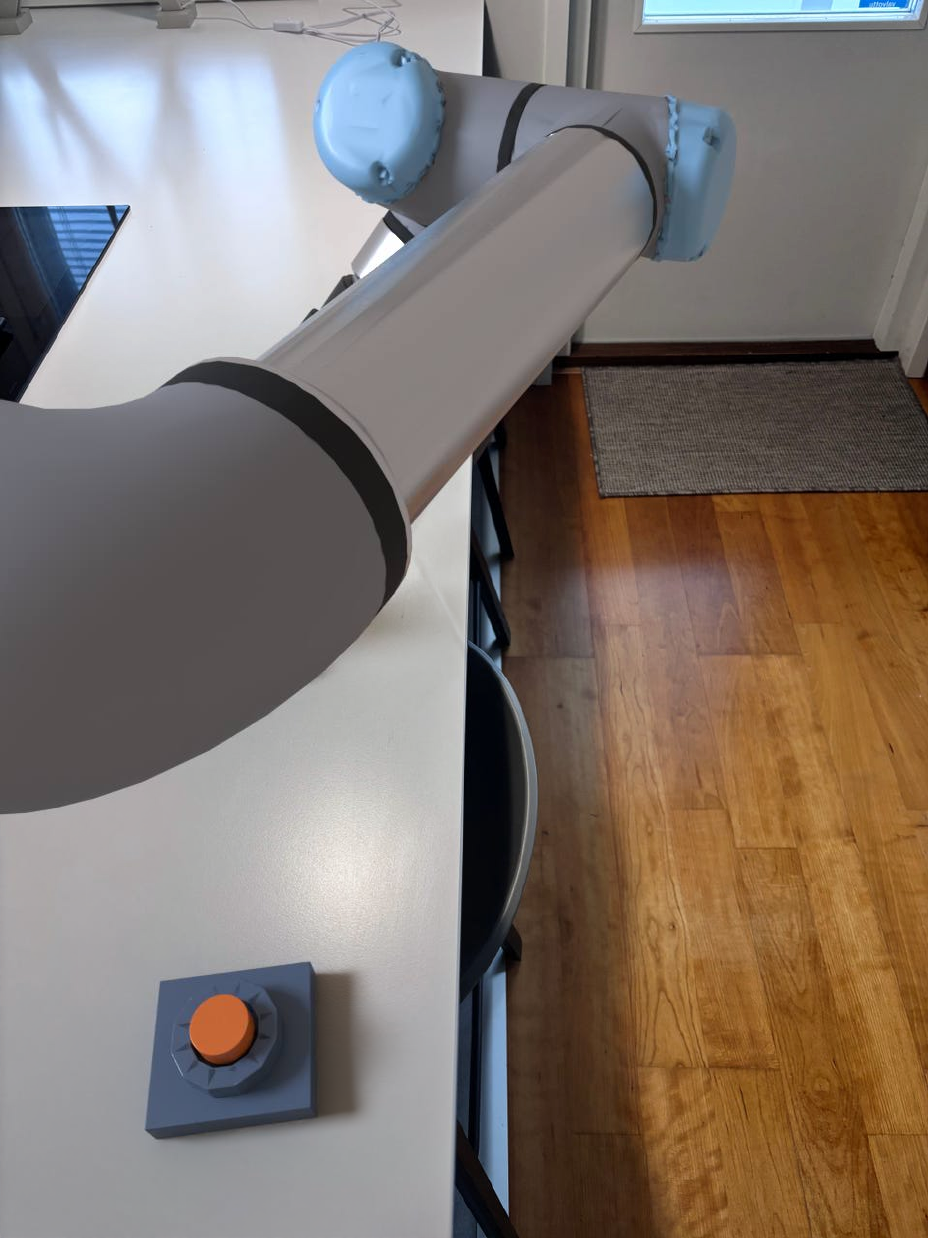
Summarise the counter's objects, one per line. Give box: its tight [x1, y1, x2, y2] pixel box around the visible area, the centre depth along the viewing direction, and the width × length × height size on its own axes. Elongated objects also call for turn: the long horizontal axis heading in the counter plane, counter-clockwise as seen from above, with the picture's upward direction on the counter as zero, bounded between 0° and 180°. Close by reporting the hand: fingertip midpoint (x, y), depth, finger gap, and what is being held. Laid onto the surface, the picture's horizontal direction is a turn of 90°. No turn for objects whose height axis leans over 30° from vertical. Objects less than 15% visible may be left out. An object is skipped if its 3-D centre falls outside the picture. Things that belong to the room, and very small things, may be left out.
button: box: [190, 994, 255, 1064], centre depth 58 cm, size 4×4×2 cm
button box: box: [144, 960, 318, 1140], centre depth 60 cm, size 10×9×4 cm
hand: (234, 521), depth 76 cm, fingers open, 13 cm apart
